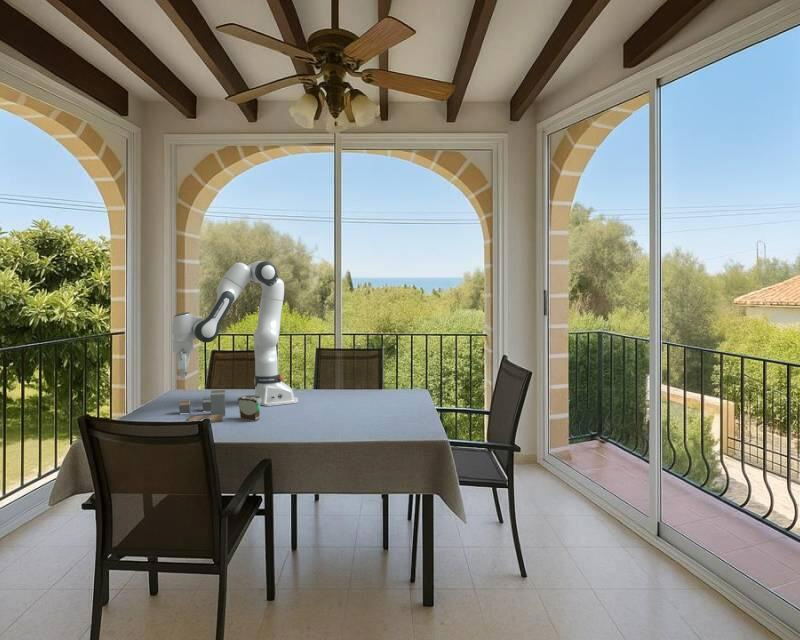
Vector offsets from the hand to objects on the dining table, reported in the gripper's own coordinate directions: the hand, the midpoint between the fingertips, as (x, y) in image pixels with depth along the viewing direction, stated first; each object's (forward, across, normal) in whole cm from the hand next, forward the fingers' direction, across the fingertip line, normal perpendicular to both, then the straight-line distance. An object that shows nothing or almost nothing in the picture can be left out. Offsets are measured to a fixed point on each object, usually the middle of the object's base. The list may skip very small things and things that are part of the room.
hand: (183, 377), depth 248 cm
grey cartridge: (+17, +3, -10) cm, 20 cm away
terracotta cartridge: (+17, 0, 0) cm, 17 cm away
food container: (+17, -20, -30) cm, 40 cm away
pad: (+17, -18, -10) cm, 26 cm away
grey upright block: (+17, -8, -15) cm, 24 cm away
